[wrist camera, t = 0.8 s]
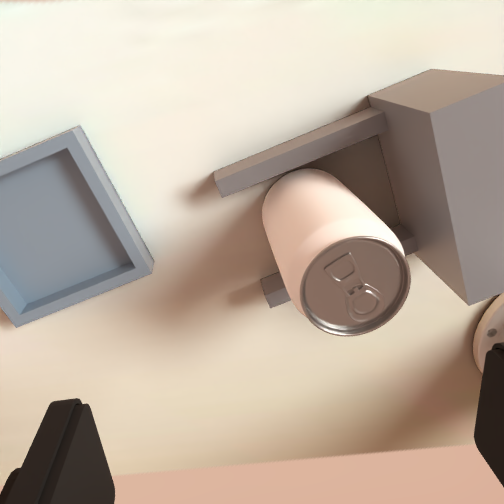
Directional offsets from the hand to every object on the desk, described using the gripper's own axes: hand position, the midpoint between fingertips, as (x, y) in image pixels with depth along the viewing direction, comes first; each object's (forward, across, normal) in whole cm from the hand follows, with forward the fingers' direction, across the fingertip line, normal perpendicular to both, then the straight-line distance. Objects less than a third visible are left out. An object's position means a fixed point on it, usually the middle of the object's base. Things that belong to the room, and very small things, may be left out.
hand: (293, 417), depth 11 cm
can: (+23, -5, +3) cm, 24 cm away
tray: (+23, +13, +2) cm, 26 cm away
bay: (+23, -8, +2) cm, 24 cm away
